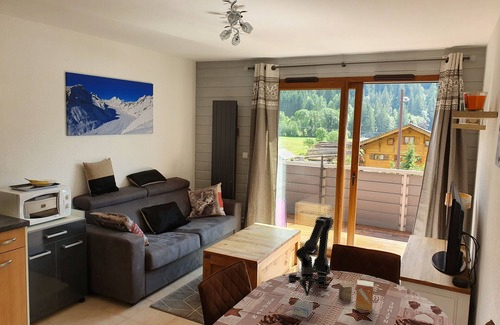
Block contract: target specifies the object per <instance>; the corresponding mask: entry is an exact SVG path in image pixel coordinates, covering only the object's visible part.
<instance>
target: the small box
mask: <svg viewBox="0 0 500 325" xmlns="http://www.w3.org/2000/svg"><path fill="white" fill-rule="evenodd" d="M356 281H357V283H356V295H355V309H356V310H363V311H364V310H365V311H369V312H372V310H373V301H374V299H373V298H374V297H373V296H374V285H375V284H374V281H368V280H361V279H357V280H356Z"/></svg>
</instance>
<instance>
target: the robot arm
mask: <svg viewBox="0 0 500 325" xmlns="http://www.w3.org/2000/svg"><path fill="white" fill-rule="evenodd" d="M333 225H334V218H332V216H329V215H320V216H317V217H316V219H315V224H314V226H313V229H312V232H311V234H310V237H309V239H307V240H306V241H305V243H304V244H303V245H301V247H300V248H298V249H296V252H295V256H296V257H297V258H298V260H299V261H300V265H301V266H300V268H301V270H300V271H301V272H300V273H301V276H298V275H297V274H295V273H292V274H291V273H289V275H288V283H289V284H296V283H297V281H298V282H299V286H301V287H302V289H303V292H304V294H305V296H306V297H309V293H310V291H311V288H312V287H314V286H315V283H316V285H318V286H319V285H321V286H325V285H329V284H330V283H329V281H327V280H328V279H327V278H328V275H331V267H330V265H329V260H328V257H327V252H328V242H329V233H330V230H331V229H332V228H333ZM318 243H319V244H318ZM312 256H313V257H315V256H316V258H314V260H313V257H312ZM314 274H316V277H314ZM307 282H308V284H307Z"/></svg>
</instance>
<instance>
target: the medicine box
mask: <svg viewBox="0 0 500 325" xmlns="http://www.w3.org/2000/svg"><path fill="white" fill-rule="evenodd" d="M312 312H314V302H312V301H308V300H303V299H297V300H296V302H294V304H293V305H292V315H294V316H298V317H302V318H305V319H308V318H309V317H310V315H311V314H312Z"/></svg>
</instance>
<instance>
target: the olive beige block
mask: <svg viewBox="0 0 500 325" xmlns="http://www.w3.org/2000/svg"><path fill="white" fill-rule="evenodd" d="M352 293H353V286H352V285H351V284H350V283H349V282H339V284H338V296H339V297H340V298H341V300H343V301H344V300H345V301H346V300H352V295H353V294H352Z"/></svg>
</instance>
